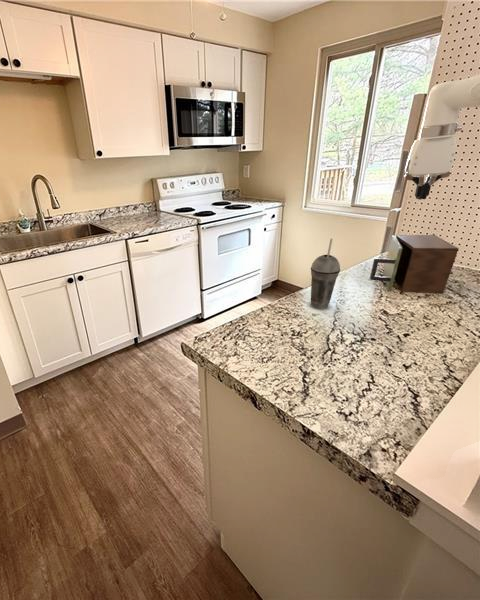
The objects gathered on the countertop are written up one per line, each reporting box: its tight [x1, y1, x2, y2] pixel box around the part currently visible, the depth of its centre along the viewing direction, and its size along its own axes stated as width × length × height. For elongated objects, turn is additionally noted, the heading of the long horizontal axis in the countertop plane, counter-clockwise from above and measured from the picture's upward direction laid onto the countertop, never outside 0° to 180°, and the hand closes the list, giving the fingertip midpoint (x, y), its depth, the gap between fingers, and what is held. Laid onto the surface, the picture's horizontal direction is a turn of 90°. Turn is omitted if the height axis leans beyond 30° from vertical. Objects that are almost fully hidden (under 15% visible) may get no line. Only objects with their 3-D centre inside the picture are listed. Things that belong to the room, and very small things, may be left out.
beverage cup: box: [310, 238, 341, 310], centre depth 87 cm, size 7×7×20 cm
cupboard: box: [393, 234, 459, 294], centre depth 96 cm, size 10×15×14 cm
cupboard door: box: [369, 235, 403, 292], centre depth 100 cm, size 6×15×14 cm, turn 151°
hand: (420, 198), depth 96 cm, fingers closed
